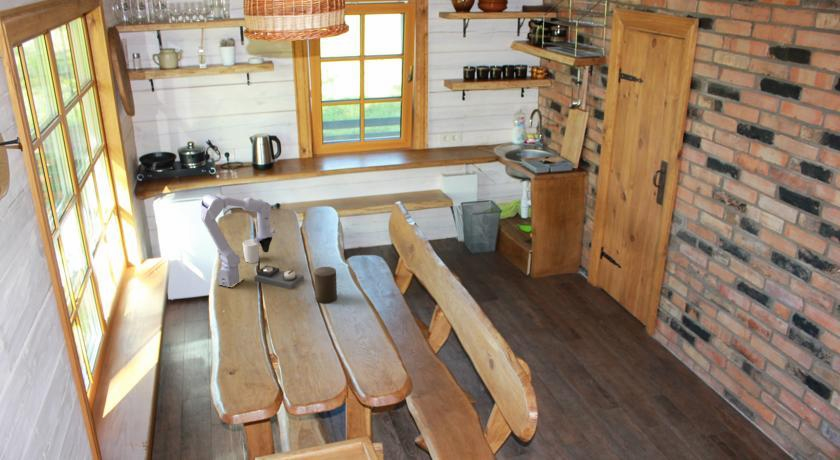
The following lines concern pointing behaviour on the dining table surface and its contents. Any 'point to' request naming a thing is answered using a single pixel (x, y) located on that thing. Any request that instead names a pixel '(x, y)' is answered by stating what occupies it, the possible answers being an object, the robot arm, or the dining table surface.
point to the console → (277, 278)
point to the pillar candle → (325, 284)
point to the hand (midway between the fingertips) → (265, 251)
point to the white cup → (251, 251)
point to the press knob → (268, 269)
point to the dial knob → (289, 274)
